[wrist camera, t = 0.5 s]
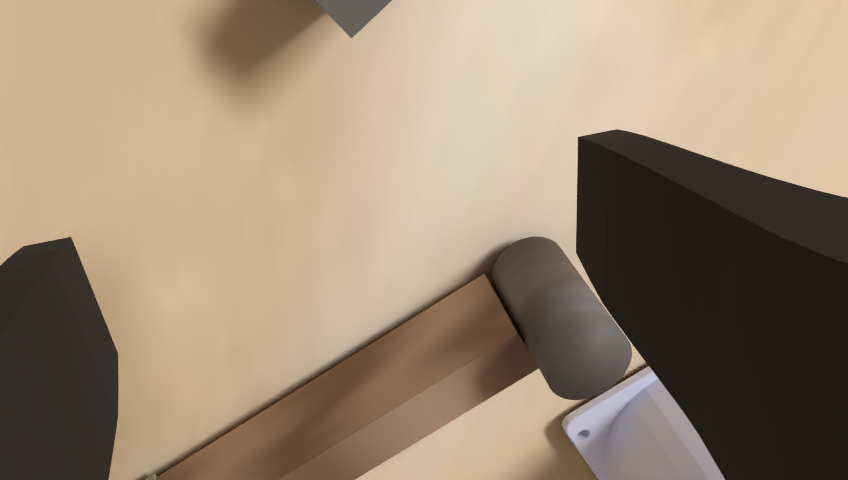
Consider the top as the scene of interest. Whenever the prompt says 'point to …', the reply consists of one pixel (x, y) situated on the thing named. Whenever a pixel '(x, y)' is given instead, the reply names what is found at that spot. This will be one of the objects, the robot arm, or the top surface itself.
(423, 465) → the top surface
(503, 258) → the gate
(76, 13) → the top surface
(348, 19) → the block
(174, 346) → the top surface
